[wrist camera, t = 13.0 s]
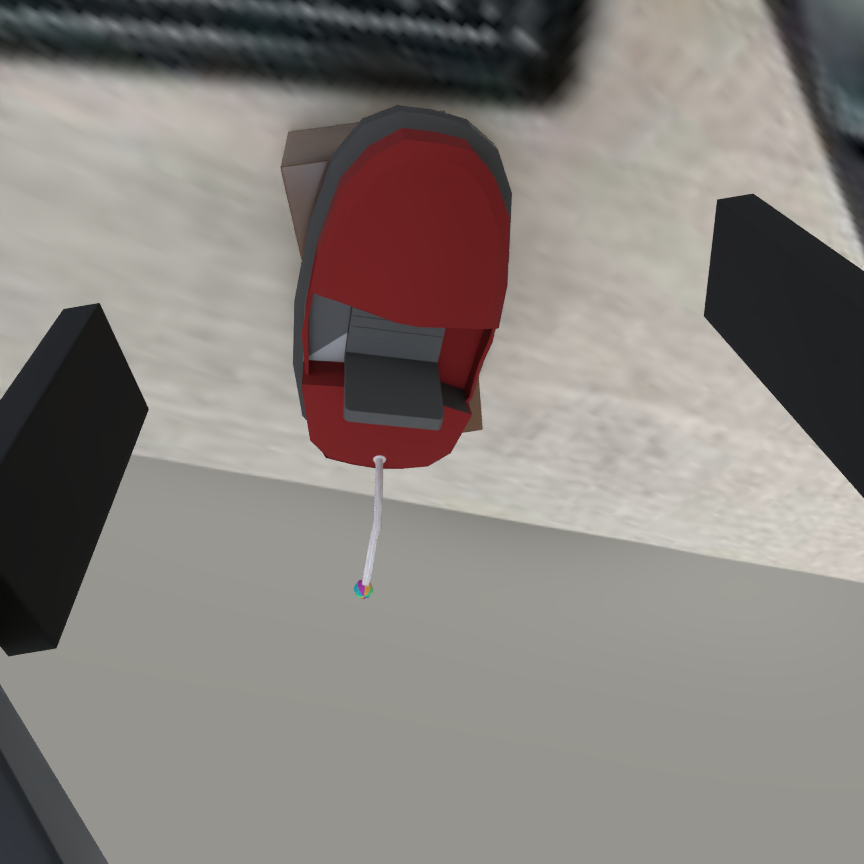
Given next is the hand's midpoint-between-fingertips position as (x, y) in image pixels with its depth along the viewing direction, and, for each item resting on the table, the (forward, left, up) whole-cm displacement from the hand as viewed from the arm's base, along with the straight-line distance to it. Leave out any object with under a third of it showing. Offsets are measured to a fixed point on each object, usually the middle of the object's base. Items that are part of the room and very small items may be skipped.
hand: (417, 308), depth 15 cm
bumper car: (+1, +10, -19) cm, 21 cm away
